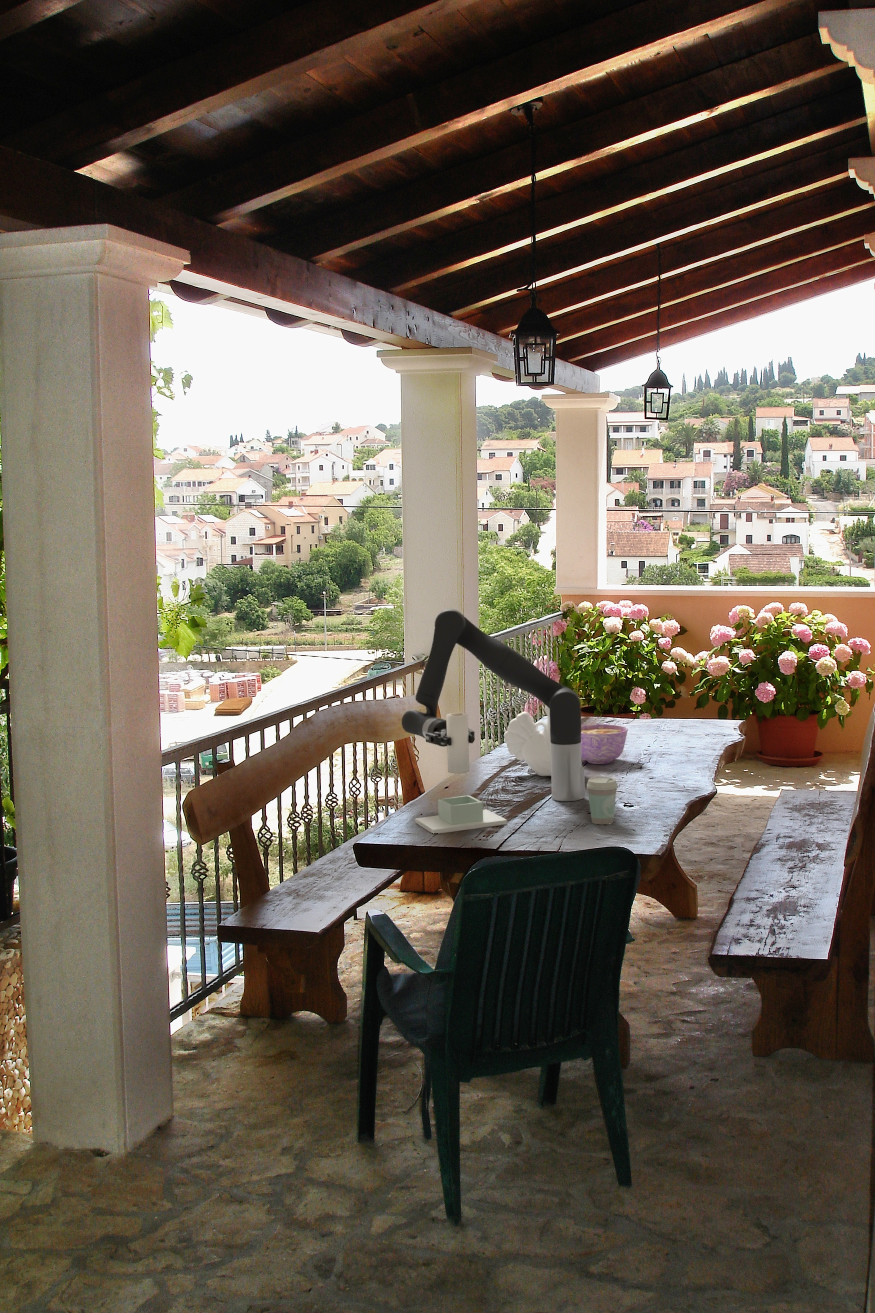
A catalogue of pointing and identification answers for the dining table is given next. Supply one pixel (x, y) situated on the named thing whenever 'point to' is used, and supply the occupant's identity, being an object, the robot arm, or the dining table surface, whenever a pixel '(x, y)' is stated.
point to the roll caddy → (460, 816)
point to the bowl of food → (602, 742)
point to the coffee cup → (602, 799)
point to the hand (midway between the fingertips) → (461, 740)
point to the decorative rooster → (530, 742)
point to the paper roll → (458, 743)
